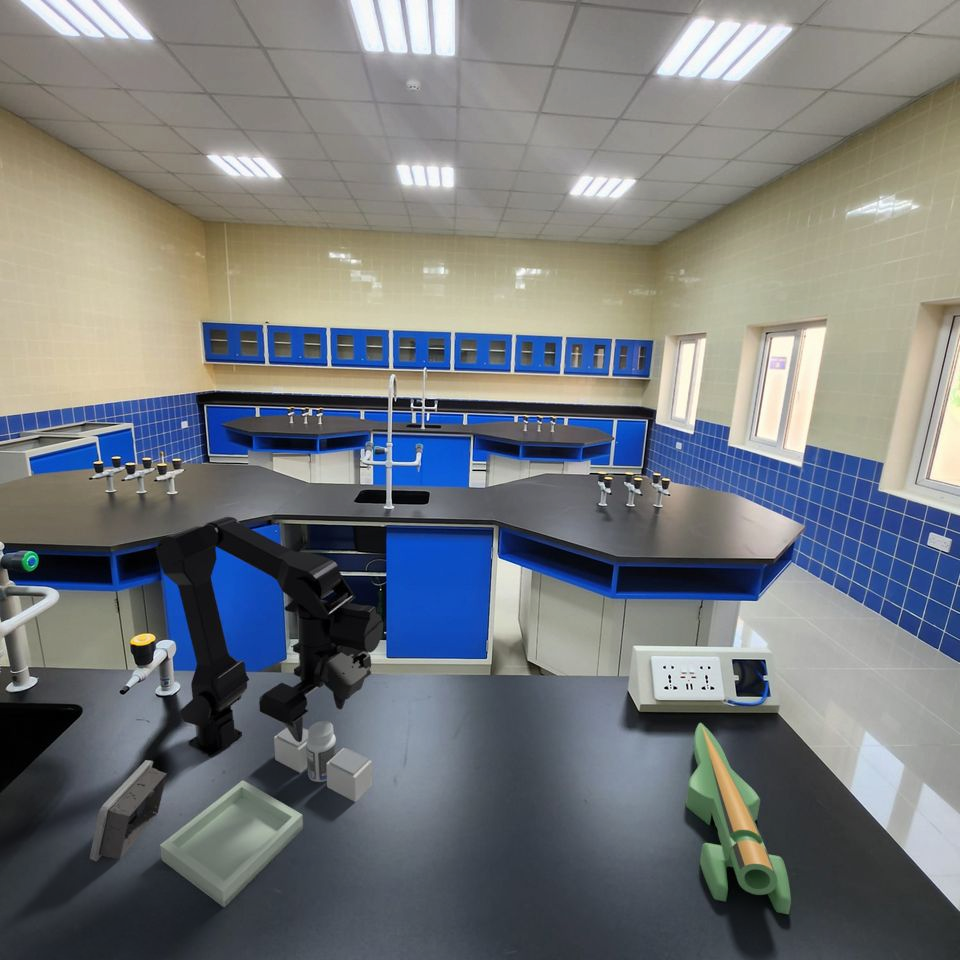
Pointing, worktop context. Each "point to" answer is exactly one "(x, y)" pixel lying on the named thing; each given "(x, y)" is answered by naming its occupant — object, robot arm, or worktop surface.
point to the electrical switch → (128, 812)
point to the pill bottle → (320, 750)
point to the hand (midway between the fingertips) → (320, 724)
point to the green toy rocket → (732, 827)
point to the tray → (231, 841)
